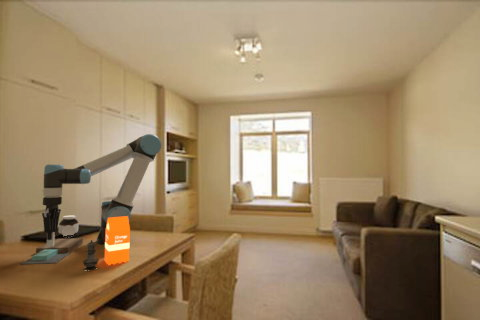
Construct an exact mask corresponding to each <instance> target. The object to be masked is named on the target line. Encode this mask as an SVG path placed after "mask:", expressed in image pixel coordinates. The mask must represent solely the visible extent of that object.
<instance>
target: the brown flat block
mask: <svg viewBox="0 0 480 320" xmlns="http://www.w3.org/2000/svg"><path fill="white" fill-rule="evenodd" d="M83 240H84V239H83V238H82V237H79V238H78V237H77V238H71V237H70V238H55V242H54V246H51V247H47V242H46V243H44V244H42V245H40V246H38V247H37V248H36V249H35V254H37V253H39V252H41V251H43V250H45V249H58V253H70V254H71V252H73V251H74V250H76V249H77V248H78V247H80V246H82V244H83V242H84V241H83Z"/></svg>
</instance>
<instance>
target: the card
mask: <svg viewBox="0 0 480 320" xmlns="http://www.w3.org/2000/svg"><path fill="white" fill-rule="evenodd" d="M56 254H58V249H45V250H43V251H41V252H39V253H37V254H36V253H35V254H34V255H32V257H31V258H32V261H34V260H48V259H50V258H51V257H53V256H54V255H56Z"/></svg>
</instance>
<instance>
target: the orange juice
mask: <svg viewBox="0 0 480 320" xmlns="http://www.w3.org/2000/svg"><path fill="white" fill-rule="evenodd" d="M130 235H131V226H130V221H129V220H128V216H123V217H110V218H108V221H107V226H106V234H105V244H104V262H105V263H106V265H107V264H108V265H107V266H111V264H113V265H117V264H116V263H119V264H123V263H122V262H124V263H128V262H127V261H129V262H130V247H131V246H130V245H131V242H130V241H131V238H130Z"/></svg>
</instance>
